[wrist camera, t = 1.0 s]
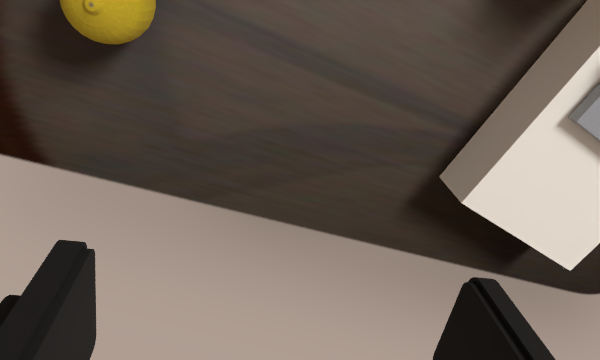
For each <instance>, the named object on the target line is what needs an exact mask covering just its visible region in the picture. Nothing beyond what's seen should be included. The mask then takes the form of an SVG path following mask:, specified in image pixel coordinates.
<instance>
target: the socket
mask: <svg viewBox="0 0 600 360" xmlns="http://www.w3.org/2000/svg"><path fill="white" fill-rule="evenodd" d="M599 83H600V0H587V1H586V2H585V4H584V5H583V6H582V7H581V8H580V10H579V11H578V12H577V13H576V14H575V16H574V17H573V18H572V19H571V20H570V22H569V23H568V24H567V25H566V26H565V27H564V29H563V30H562V31H561V32H560V33H559V35H558V36H557V37H556V38H555V39H554V41H553V42H552V43H551V44H550V45H549V47H548V48H547V49H546V50H545V51H544V52H543V54H542V55H541V56H540V57H539V58H538V60H537V61H536V62H535V63H534V64H533V66H532V67H531V68H530V69H529V70H528V71H527V73H526V74H525V75H524V76H523V77H522V79H521V80H520V81H519V82H518V83H517V85H516V86H515V87H514V88H513V89H512V91H511V92H510V93H509V94H508V95H507V96H506V98H505V99H504V100H503V101H502V102H501V104H500V105H499V106H498V107H497V108H496V110H495V111H494V112H493V113H492V114H491V116H490V117H489V118H488V119H487V120H486V121H485V123H484V124H483V125H482V126H481V127H480V129H479V130H478V131H477V132H476V133H475V135H474V136H473V137H472V138H471V139H470V141H469V142H468V143H467V144H466V145H465V146H464V148H463V149H462V150H461V151H460V152H459V154H458V155H457V156H456V157H455V158H454V160H453V161H452V162H451V163H450V164H449V165H448V167H447V168H446V169H445V170H444V171H443V173H442V174H441V175H440V176H439V177H440V178H441V180H442V181H443V182H444V183H445V184H446V186H447V187H448V188H449V189H450V190H451V191H452V193H453V194H454V195H455V196H456V197H457V198H458V200H459V201H460V202H461V203H462V204H464V205H465V206H467V207H468V208H470V209H472V210H473V211H475V212H477V213H478V214H480V215H481V216H483V217H485V218H486V219H488V220H489V221H491V222H493V223H494V224H496V225H497V226H499V227H501V228H502V229H504V230H505V231H507V232H509V233H510V234H512V235H513V236H515V237H517V238H518V239H520V240H522V241H523V242H525V243H526V244H528V245H530V246H531V247H533V248H534V249H536V250H538V251H539V252H541V253H542V254H544V255H546V256H547V257H549V258H550V259H552V260H554V261H555V262H557V263H558V264H560V265H562V266H563V267H565V268H567V269H568V270H570V271H571V270H572V269H573V268H574V267H575V266H576V265H577V264H578V263H579V262H580V261H581V260H582V259H583V258H584V257H585V256H586V255H587V254H588V253H589V252H591V251H592V250H593V249H594V248H595V247H596V246H597V245H598V244H599V243H600V142H599V141H598V140H596V139H595V138H594V137H593V136H591V135H590V134H589V133H588V132H586V131H585V130H584V129H582V128H581V127H580V126H579V125H577V124H576V123H575V122H574V121H572V120H571V119H570V118H568V117H569V116H570V115H571V114H572V113H573V112H574V110H575V109H576V108H577V107H578V106H579V105H580V104H581V103H582V102H583V101H584V99H585V98H586V97H587V96H588V95H589V94H590V93H591V92H592V91H593V90H594V88H595V87H596V86H597V85H598V84H599Z"/></svg>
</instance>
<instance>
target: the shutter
mask: <svg viewBox="0 0 600 360" xmlns="http://www.w3.org/2000/svg"><path fill="white" fill-rule="evenodd" d="M568 118H570V119H571V120H572V121H574V122H575V123H576V124H577V125H579V126H580V127H581V128H582V129H584V130H585V131H586V132H588V133H589V134H590V135H591V136H593V137H594V138H595V139H596V140H598V141H599V142H600V83H599V84H598V85H597V86H596V87H595V88H594V90H593V91H592V92H591V93H590V94H589V95H588V96H587V97H586V98H585V99H584V101H583V102H582V103H581V104H580V105H579V106H578V107H577V108H576V109H575V110H574V112H573V113H572V114H571V115H570V116H569V117H568Z"/></svg>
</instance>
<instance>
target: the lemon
mask: <svg viewBox="0 0 600 360" xmlns="http://www.w3.org/2000/svg"><path fill="white" fill-rule="evenodd" d="M60 4H61V8H62V10H63V12H64V14H65V16H66V18H67V20H68V21H69V22H70V23H71V25H72V26H73V27H74V28H75V29H76V30H77V31H78V32H80V33H81V34H82V35H84V36H86V37H87V38H89V39H91V40H93V41H97V42H100V43H104V44H122V43H126V42H130V41H132V40H134V39H136V38H137V37H139V36H141V35H142V34H143V33H144V32H145V31H146V30H147V29H148V27H149V25H150V24H151V22H152V20H153V18H154V14H155V9H156V0H60Z"/></svg>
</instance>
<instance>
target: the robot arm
mask: <svg viewBox="0 0 600 360" xmlns="http://www.w3.org/2000/svg"><path fill="white" fill-rule="evenodd" d="M95 292H96V291H95V251H94V249H87V245H86V243H85V242H77V241H66V240H59V241H57V243H56V244H55V245H54V247H53V248H52V250H51V251H50V253H49V254H48V256H47V257H46V259H45V261H44V262H43V263H42V265H41V266H40V268H39V269H38V271H37V272H36V274H35V276H34V277H33V278H32V280H31V282H30V283H29V285H28V286H27V287H26V289H25V290H24V292H23V294H22V295H21V296H18V295H9V296H7V297H5V298H4V299H3V300H2V302H1V303H0V360H90V357H91V354H92V352H93V349H94V345H95V341H96V295H95V294H96V293H95ZM433 360H555V359H554V357H553V356H552V354H551V353H550V352H549V350H548V349H547V348H546V346H545V345H544V344H543V342H542V341H541V340H540V338H539V337H538V336H537V334H536V333H535V332H534V330H533V329H532V328H531V326H530V325H529V323H528V322H527V321H526V319H525V318H524V317H523V315H522V314H521V313H520V312H519V310H518V309H517V307H516V306H515V305H514V304H513V302H512V301H511V299H510V298H509V297H508V295H507V294H506V293H505V291H504V290H503V288H502V287H501V286H500V284H499V283H498V282H497V281H496V280H494V279H487V278H476V277H475V278H471V279H470V280H469V281H468V282H466V283H464V284H463V286H462V288H461V290H460V293H459V295H458V297H457V300H456V302H455V305H454V307H453V309H452V312H451V314H450V317H449V319H448V321H447V324H446V326H445V329H444V331H443V333H442V336H441V339H440V341H439V343H438V345H437V348H436V350H435V353H434V356H433Z"/></svg>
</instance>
